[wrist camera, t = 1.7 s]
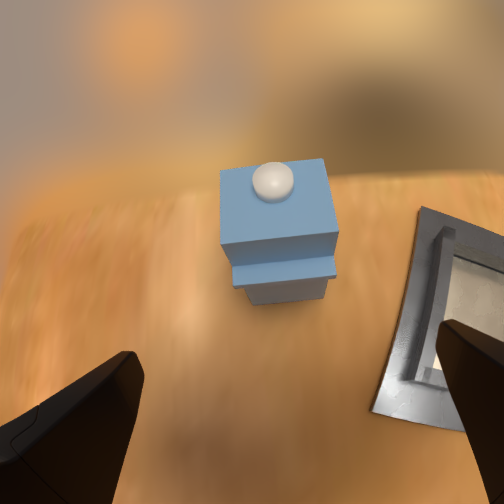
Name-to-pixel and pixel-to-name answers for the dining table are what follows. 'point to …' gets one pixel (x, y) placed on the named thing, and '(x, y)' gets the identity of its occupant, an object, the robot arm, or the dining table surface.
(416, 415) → the tray
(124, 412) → the robot arm
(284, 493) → the dining table surface
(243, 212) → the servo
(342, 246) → the dining table surface
